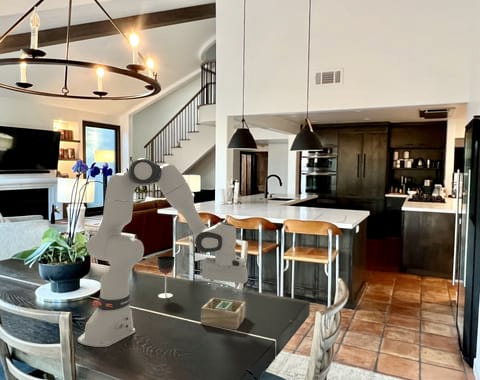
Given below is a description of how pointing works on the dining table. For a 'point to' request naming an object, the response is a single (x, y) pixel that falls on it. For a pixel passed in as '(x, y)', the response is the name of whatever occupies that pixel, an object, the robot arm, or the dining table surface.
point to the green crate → (224, 306)
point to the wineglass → (165, 270)
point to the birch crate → (223, 314)
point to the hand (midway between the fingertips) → (224, 290)
